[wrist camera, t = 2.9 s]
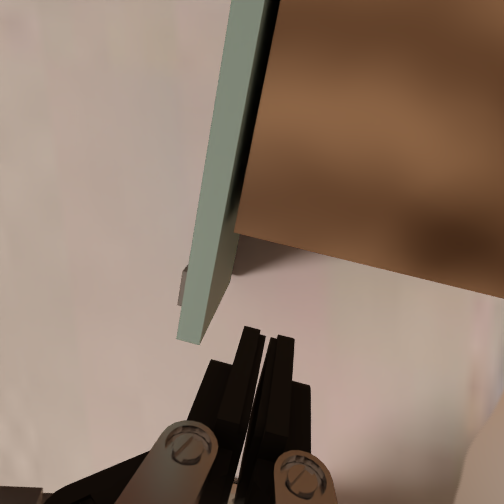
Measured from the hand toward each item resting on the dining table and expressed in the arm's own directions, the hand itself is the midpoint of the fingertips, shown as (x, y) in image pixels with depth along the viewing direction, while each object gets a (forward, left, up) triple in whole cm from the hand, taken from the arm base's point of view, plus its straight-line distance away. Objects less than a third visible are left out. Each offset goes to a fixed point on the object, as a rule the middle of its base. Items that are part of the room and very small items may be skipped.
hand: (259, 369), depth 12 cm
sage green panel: (+8, +4, -13) cm, 16 cm away
